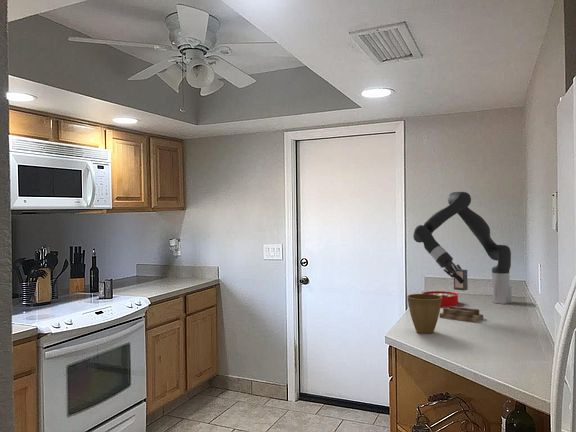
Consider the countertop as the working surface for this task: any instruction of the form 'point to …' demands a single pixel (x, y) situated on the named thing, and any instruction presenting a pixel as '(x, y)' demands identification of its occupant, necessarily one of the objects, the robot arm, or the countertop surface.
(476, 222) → the robot arm
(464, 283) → the dark grey cuboid
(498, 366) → the countertop surface
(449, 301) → the toy clock
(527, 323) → the countertop surface
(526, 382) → the countertop surface
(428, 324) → the plant pot
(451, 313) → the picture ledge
